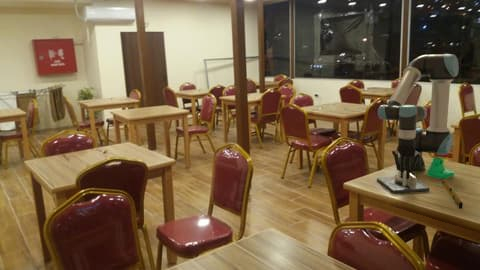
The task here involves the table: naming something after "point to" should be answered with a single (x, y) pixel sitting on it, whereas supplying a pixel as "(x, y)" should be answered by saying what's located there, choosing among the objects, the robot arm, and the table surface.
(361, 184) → the table surface
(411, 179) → the silver ladle
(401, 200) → the table surface
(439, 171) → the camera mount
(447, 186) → the spirit level
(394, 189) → the stand
